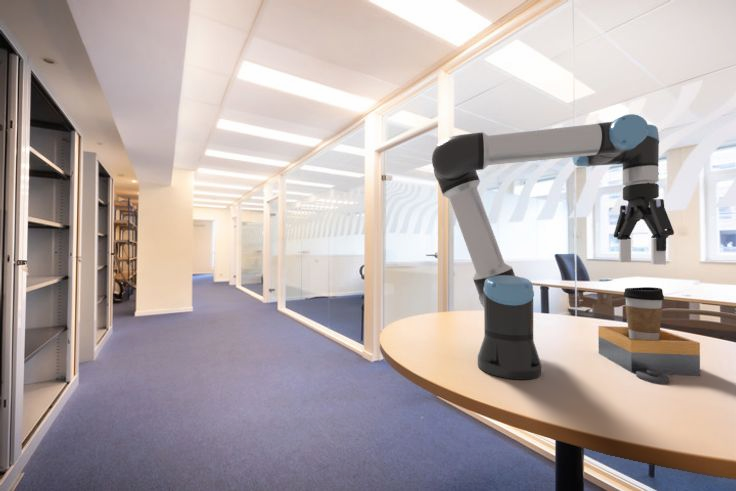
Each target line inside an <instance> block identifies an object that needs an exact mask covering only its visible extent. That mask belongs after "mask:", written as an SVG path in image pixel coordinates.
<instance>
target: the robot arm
mask: <svg viewBox="0 0 736 491" xmlns="http://www.w3.org/2000/svg"><path fill="white" fill-rule="evenodd" d="M659 146H660V137H659V129H658V127H657V126H656V125H654V124H649V123H648V122H647V120H646V119H645V118H644V117H643V116H640V115H639V114H634V113H629V114H624V115H622V116H620V117H618V118H616V119H614V120H613V121H608V122H607V121H606V122H597V123H593V124H592V123H590V124H583V125H581V124H580V125H574V126H573V125H572V126H564V127H563V126H562V127H556V128H546V129H536V130H528V131H520V132H519V131H518V132H509V133H500V134H492V135H491V134H490V135H488V134H486V133H485V132H483V131H481V132H473V133H466V134H465V133H464V134H458V135H453V136H448V137H447V138H445V139H443V140H441V141H440V142H439V143H438V144H437V145H436V146H435V148H434V150H433V152H432V157H431V164H432V168H433V173H434V176H435V179H436V180H437V183H438V185H439V186H438V187H439V188H440V191H441V193H442V196H443V197H445V198H447V199H448V200H449V201H450V203H451V207H452V209H453V213H454V215H455V217H456V220H457V223H458V226H459V228H460V231H461V235H462V237H463V240H464V242H465V246H466V248H467V250H468V251H467V252H468V254H469V257H470V259H471V262H472V264H473V267H474V269H475V270H474V271H475V274H474V276H473V277H472V280H473V282H474V286H475V287H476V290H477V294H478V298H479V302H480V304H481V305H482V307H483V309H484V310H483V311H484V312H483V313H484V321H483V322H484V328H483V329H484V336H483V340H482V342H481V345H480V349H479V351H478V354H477V367H478V368H479V369H480V370H481V371H483V372H485V373H487V374H489V375H493V376H495V377H499V378H503V379H509V380H532V379H536V378H539V377H540V376H541V375H542V368H543V367H542V361H541V359H540V356H539V354H538V351H537V348H536V344H535V341H534V296H535V292H534V288H533V287H534V285H533V282H532V281H531V280H529V279H527V278H525V277H523V276H522V277H520V276H517V275H516V274H515V272H514V269H513V267H512V266H511V265H508V264H507V263H505V261H504V259H503V255H502V252H501V249H500V247H499V244H498V241H497V239H496V236H495V233H494V231H493V229H492V225H491V223H490V220H489V218H488V215H487V212H486V209H485V207H484V204H483V201H482V198H481V195H480V193H479V191H478V187H479V185H480V182H481V180H480V178H479V176H478V173H477V171H481V170H485V169H486V168H487V167H488V166H493V165H505V164H514V163H525V162H526V163H527V162H532V161H533V162H536V161H545V160H556V159H557V160H558V159H568V158H572V162H573V164H574V165H575V166H577V167H595V166H609V165H610V166H611V165H613V166H614V165H622V186H624V187H623V188H622V200H623V201H627V202H628V203H627V204H625V205H620V207H619V215H618V218H617V223H616V226H615V228H614V229H615V230H614V232H613V237H614V238H617V240H618V262H619V263H631V262H632V238H631V235H632V233H633V232H634V231H633V230H634V229H635V227H636V225H637V223H638V222H640V221H641V220H642V221H644V223H645V224H646V226H647V228H648V229H649V231H650V232H651V234H652V235H651V238H650V242H651V243H650V244H651V245H650V246H651V248H650V251H651V252H650V253H651V254H650V255H651V258H650V259H651V262H650V263H651V264H650V265H663V266H664V265H666V261H667V259H666V257H667V256H666V253H667V252H666V251H667V238H669V237H670V236H673V235H674V234H675V232H674V228H673V225H672V223H671V221H670V218H669V215H668V214H667V213H668V212H667V210H666V208H665V200H664V198H659V196H660V195H659V194H660V187H659V186H660V185H659V184H658V182H659V175H660V173H659V159H660V158H659V153H660V152H659V151H660V150H659V149H660V148H659Z"/></svg>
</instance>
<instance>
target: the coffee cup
mask: <svg viewBox="0 0 736 491" xmlns="http://www.w3.org/2000/svg"><path fill="white" fill-rule="evenodd" d="M623 298H624V299H625V305H624V307H625V314H626V322H627V327H628V329H629V338H631V339H638V340H659V332H660V329H661V323H662V316H663V301H664V300H665V296H664V291H663V288H660V287H650V286H647V287H645V286H644V287H626V288H625V289H624V293H623Z"/></svg>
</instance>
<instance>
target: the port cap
mask: <svg viewBox="0 0 736 491" xmlns="http://www.w3.org/2000/svg"><path fill="white" fill-rule="evenodd" d="M635 376H636V377H637V379H640V380H642V381H643V382H644V381H645V382H649V383H653V384H658V385H659V384H660V385H669V384H671V380H670V376H668V375H667V374H661V373H658V371H656V370H652V369H647V371H646V370H639V371H636V373H635Z"/></svg>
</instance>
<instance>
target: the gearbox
mask: <svg viewBox="0 0 736 491" xmlns="http://www.w3.org/2000/svg"><path fill="white" fill-rule="evenodd" d="M597 329H598V332H597V334H598V354H599V355H601V356H603V357H605V358H606V359H608V361H609V360H610V361H611V362H613V363H615V364H616V365H618V366H620V367H621V368H623V369H625V370H627V372H628V371H629V372H630V373H635V374H636V371H639V370H646V371H647V369H652V370H656V371H658V373H661V374H664V375H675V376H677V375H678V376H697V377H700V376H701V349H700V348H701V343H700V342H699V341H695V340H693V339H689V338H687V337H684V336H681V335H678V334H676V333H673V332H669V331H666V330H663V329H661V328H660V332H659V340H638V339H631V338H629V329H628V326H615V325H614V326H608V325H605V326H604V325H598V327H597Z"/></svg>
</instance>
